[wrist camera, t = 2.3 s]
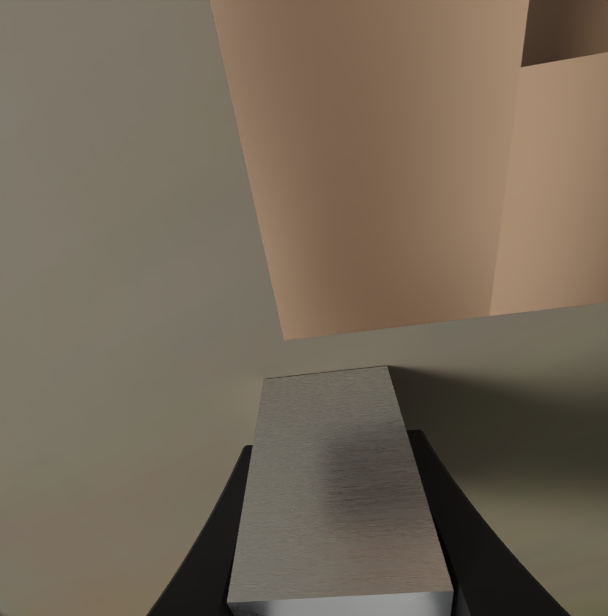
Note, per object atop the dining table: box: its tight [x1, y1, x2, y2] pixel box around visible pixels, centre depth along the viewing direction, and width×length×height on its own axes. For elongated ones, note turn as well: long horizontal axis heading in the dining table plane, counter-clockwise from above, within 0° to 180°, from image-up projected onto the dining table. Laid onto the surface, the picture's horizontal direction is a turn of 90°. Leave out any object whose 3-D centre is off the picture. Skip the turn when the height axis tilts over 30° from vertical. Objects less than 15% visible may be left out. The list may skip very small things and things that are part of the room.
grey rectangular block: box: [227, 366, 454, 616], centre depth 10 cm, size 4×4×6 cm
